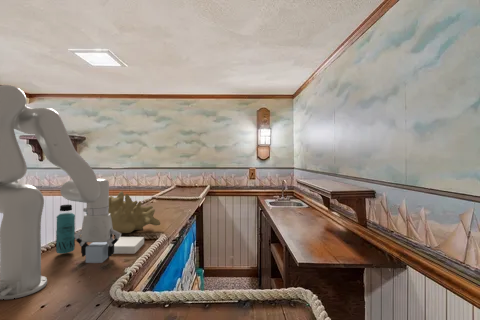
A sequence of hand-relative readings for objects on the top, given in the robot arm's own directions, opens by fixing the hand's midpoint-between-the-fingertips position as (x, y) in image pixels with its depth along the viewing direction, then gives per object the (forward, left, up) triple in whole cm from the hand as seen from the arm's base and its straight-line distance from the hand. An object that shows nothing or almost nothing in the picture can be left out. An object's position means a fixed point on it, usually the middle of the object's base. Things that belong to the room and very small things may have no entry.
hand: (97, 255), depth 103 cm
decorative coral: (+36, 0, -2) cm, 36 cm away
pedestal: (+12, -6, -2) cm, 14 cm away
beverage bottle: (+5, +15, -2) cm, 16 cm away
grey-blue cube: (0, 0, -2) cm, 2 cm away
